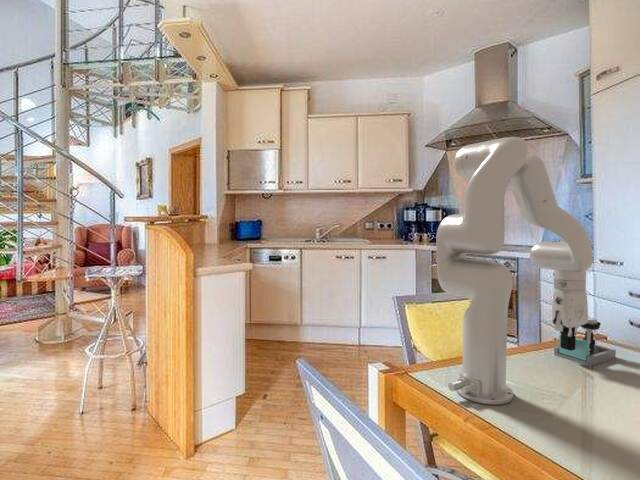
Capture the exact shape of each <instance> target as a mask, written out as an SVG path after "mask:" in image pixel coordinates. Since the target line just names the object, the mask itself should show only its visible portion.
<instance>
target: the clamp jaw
mask: <svg viewBox="0 0 640 480" xmlns="http://www.w3.org/2000/svg"><path fill="white" fill-rule="evenodd" d="M558 338H559V340H558V346H559V353H563V354H566V355H569V356H572V357H576V358H579V359H582V360H585V361H586V360H587V357H588V356H589V341H585V340H583V338H582V339H580V338H577V337H576V342H575V350H572V351H570V350H567V349H563V348H561V347H560V344H561V334H559V337H558Z"/></svg>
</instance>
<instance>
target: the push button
mask: <svg viewBox="0 0 640 480" xmlns="http://www.w3.org/2000/svg"><path fill="white" fill-rule="evenodd" d="M601 325H602V324H601V322H599V321H598V319H597V318H594V317H589V316H588V322H587V323H586V324H584V325H581V326H580V328H582V329H583V330H585V331H584V332H585V333H584V334H585V335H584V338H582V340H585V341H589V354H592V351H594V353H595V347H594V344H596V339H594V332H593V331H598V330H599V329H600V328H601Z"/></svg>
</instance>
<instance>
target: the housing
mask: <svg viewBox="0 0 640 480" xmlns="http://www.w3.org/2000/svg"><path fill="white" fill-rule="evenodd" d="M594 347H595V353H594V351H592V354H589V356H588V357H587V360H586V361H585V360H582V359H579V358H576V357H572V356H569V355H566V354H563V353H559V345H558V346H554V347H553V351H554V352H553V355H554V356H557V357H561V358H563V359H567V360H569V361H572V362H576V363H578V364H582V365H585V366H589V367H592V366H595V365H598V364H601V363H604V362H607V361H609V360H612V358H613V359H615V358H616V352H617V349H615V348H614V349H613V348H610V347H606V346H602V345H598V344H596V343H595V344H594Z"/></svg>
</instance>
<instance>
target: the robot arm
mask: <svg viewBox="0 0 640 480" xmlns="http://www.w3.org/2000/svg"><path fill="white" fill-rule="evenodd" d="M453 162H454V164H453V165H454V168H455V170H456V172H457V174H458V175H459V176H460V177H461V178H462V179H464V180H466V181H467V182H468V183H467V184H466V186H465V189H464V190H465V191H464V199H463V200H464V202H463V213H456V214H450V215H447V216H446V217H444V218H443V219H442V221H440V223H439V224H438V225H439V226H438V228H437V231H436V236H435V238H436V240H435V241H436V242H435V243H436V244H435V245H436V246H435V247H436V271H437V279H438V283H439V286H440V289H442V290H443V291H444V292H445V293H447V294H450V295H453V296H459V297H462V298H467V299H470V300H471V302H470V304H469V305H468V306H467V308H466V309H465V312H464V314H463V318H462V369H461V370H462V372H461V373H459V378H458V379H457V380H456V381H452V382H449V383H448V385H447V386H448V389H449V391H451V392H456V393H458V395H460V396H461V397H463V398H465V399H466V400H469V401H472V402H475V403H478V404H483V405H491V406H492V405H493V406H494V405H495V406H496V405H497V406H498V405H504V404H507V403H510V402H511V401H512V400H513V398H514V391H513V389H511V387H510V386H508V385H507V353H508V352H507V346H508V345H507V337H508V311H509V304H510V299H511V293H512V291H513V285H514V279H513V278H514V277H513V273H512V272H511V271H510V268H508V267H507V265H505V264H503V263H500V262H497V261H492V260H486V259H478V258H477V259H476V258H467V254H469V255H481V256H482V255H483V256H489V255H490V256H491V255H495V254H497V253H500V252H501V251H502V249H503V247H504V244H505V229H506V228H505V224H506V223H505V197H506V196H505V195H506V192H507V191H512V193H513V196H514V198H515V201H516V204H517V207H518V210H519V212H520V215H521V218H522V219H523V220H524V221H526V222H528V223H530V224H532V225H534V226H537V227H539V228H542V229H544V230H546V231H549V232H551V233H553V234H556V236H559V238H561V239H562V240H563V241H555V242H554V241H541V242H538V243H536V244H534V245H533V246H532V248H531V249H530V252H529V259H530V262H531V263H532V265H534V266H535V267H537V268H540V269H545V270H552V271H553V274H554V275H553V290H554V291H553V295H552V296H553V297H552V302H551V306H552V307H551V323H552V324H553V325H555V326H554V329H555V330H554V331H558V332H559V335H561V344H560V347H561V348H563V349H567V350H570V351H572V350H575V342H576V338H577V334H578V328H581V325H584V324H586V323H587V322H588V317H589V311H588V310H589V305H588V296H587V291H586V287H587V286H586V285H587V271H588V270H589V269H590V268H591V267H592V264H593V263H594V251H593V247H592V243H591V241H590V237H589V235H588V232H587V230H586V228H585V227H584V226H583V224H582V223H580V222H579V221H578V220H577V219H576V218H575V217H574V216H573V215H571V214H570V213H569V212H568V211H566V210H564V209H563V208H561V207H560V206H559V204H558V203H557V198H556V195H555V192H554V190H553V187H552V182H551V179H550V177H549V174H548V171H547V168H546V166H545V163H544V161H543V159H542V158H541V157H540V156H537V155H534V154H529V146H528V143H527V141H526V140H525V139H524V138H522V137H518V136H509V137H508V136H506V137H502V138H495V139H490V140H486V141H481V142H477V143H471V144H467V145H465V146H462V147H461V148H460V149H459V150H458V151H457V152H456V154H455V156H454V161H453Z"/></svg>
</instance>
